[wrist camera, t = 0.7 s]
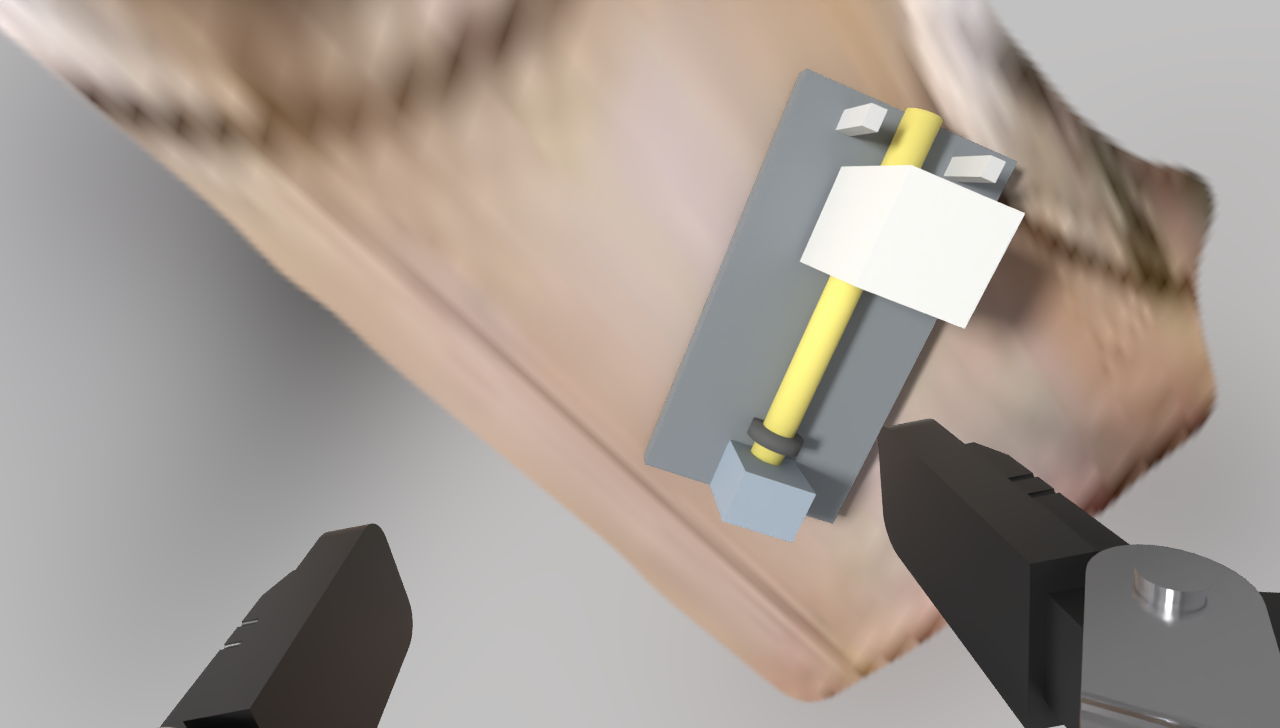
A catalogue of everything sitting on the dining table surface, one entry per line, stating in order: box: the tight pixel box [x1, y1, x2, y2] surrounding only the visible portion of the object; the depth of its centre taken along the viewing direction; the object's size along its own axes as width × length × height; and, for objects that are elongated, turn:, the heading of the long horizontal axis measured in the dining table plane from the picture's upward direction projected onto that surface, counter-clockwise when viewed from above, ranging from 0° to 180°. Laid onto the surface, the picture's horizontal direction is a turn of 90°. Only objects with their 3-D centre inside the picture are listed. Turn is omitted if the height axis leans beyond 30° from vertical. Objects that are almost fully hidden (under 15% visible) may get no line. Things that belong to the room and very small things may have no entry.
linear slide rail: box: [644, 69, 1017, 542], centre depth 33 cm, size 22×12×5 cm, turn 159°
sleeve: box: [800, 165, 1025, 329], centre depth 29 cm, size 5×5×7 cm
